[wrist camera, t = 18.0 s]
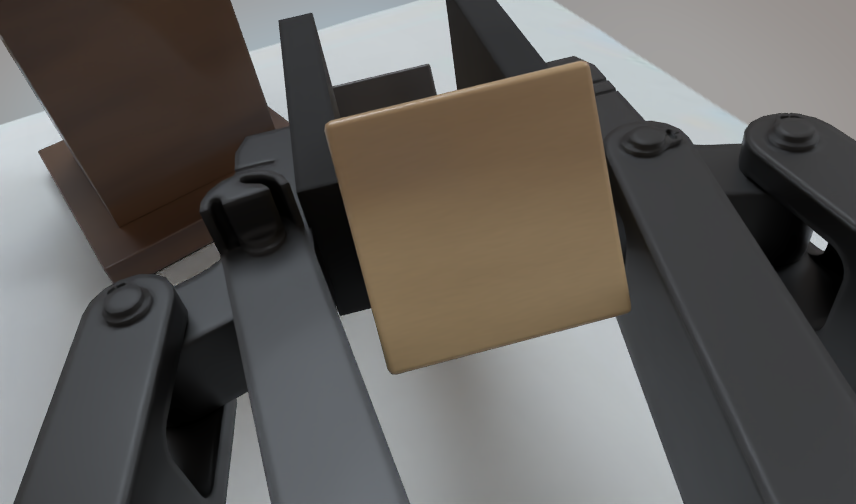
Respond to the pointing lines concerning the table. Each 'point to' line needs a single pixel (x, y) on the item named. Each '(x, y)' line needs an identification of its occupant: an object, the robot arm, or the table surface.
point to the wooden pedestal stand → (139, 115)
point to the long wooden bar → (477, 210)
